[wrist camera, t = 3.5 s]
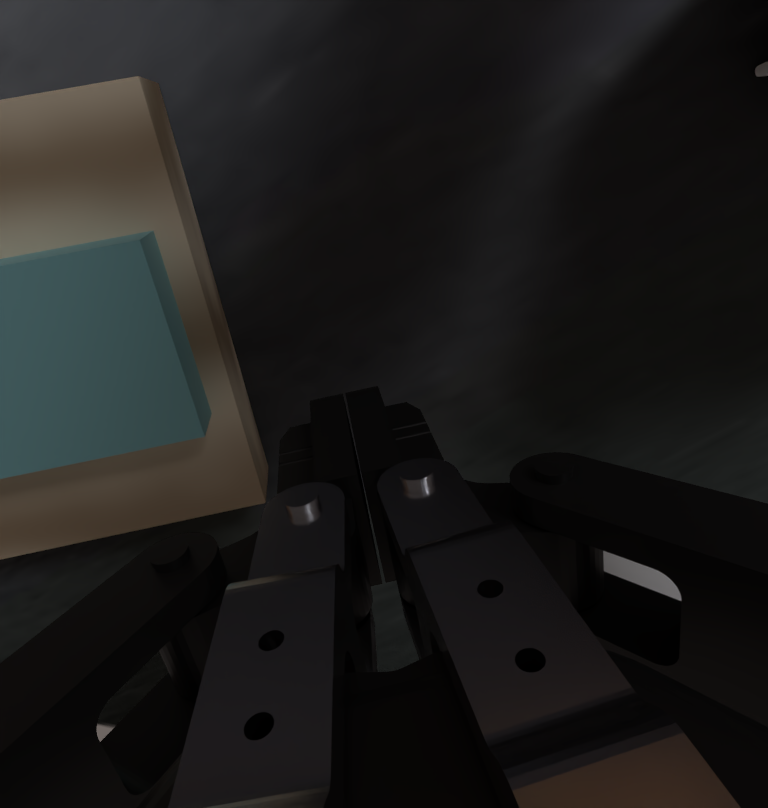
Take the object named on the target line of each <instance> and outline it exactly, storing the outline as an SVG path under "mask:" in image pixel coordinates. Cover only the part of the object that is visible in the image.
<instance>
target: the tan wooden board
mask: <svg viewBox="0 0 768 808" xmlns="http://www.w3.org/2000/svg"><path fill="white" fill-rule="evenodd" d="M148 231H154V234H155V237H156V240H157V243H158V246H159V250H160V253H161V256H162V259H163V262H164V265H165V268H166V271H167V275H168V278H169V281H170V284H171V287H172V290H173V293H174V297H175V300H176V303H177V306H178V309H179V312H180V315H181V318H182V322H183V325H184V328H185V331H186V334H187V337H188V340H189V343H190V347H191V350H192V353H193V356H194V359H195V362H196V365H197V369H198V372H199V375H200V378H201V381H202V384H203V387H204V390H205V394H206V397H207V400H208V403H209V406H210V409H211V412H212V414H211V418H210V421H209V424H208V428H207V431H206V435H205V437H201V438H196V439H191V440H187V441H182V442H177V443H172V444H167V445H162V446H158V447H153V448H148V449H143V450H138V451H133V452H128V453H124V454H119V455H114V456H109V457H104V458H99V459H95V460H90V461H85V462H80V463H75V464H70V465H66V466H61V467H56V468H51V469H46V470H41V471H36V472H32V473H27V474H22V475H17V476H12V477H7V478H3V479H0V560H1V559H5V558H10V557H15V556H19V555H24V554H29V553H33V552H38V551H43V550H47V549H52V548H57V547H61V546H66V545H71V544H75V543H80V542H85V541H90V540H94V539H99V538H104V537H108V536H113V535H118V534H122V533H127V532H132V531H136V530H141V529H146V528H150V527H155V526H160V525H164V524H169V523H174V522H178V521H183V520H188V519H192V518H197V517H202V516H206V515H211V514H216V513H221V512H225V511H230V510H235V509H239V508H244V507H249V506H253V505H258V504H263V503H266V491H267V478H268V464H267V461H266V457H265V454H264V450H263V447H262V443H261V440H260V436H259V433H258V429H257V426H256V422H255V419H254V415H253V412H252V408H251V405H250V401H249V398H248V394H247V391H246V387H245V384H244V380H243V377H242V373H241V370H240V366H239V363H238V359H237V356H236V352H235V349H234V345H233V342H232V338H231V335H230V332H229V328H228V325H227V321H226V318H225V314H224V311H223V307H222V304H221V300H220V297H219V293H218V290H217V286H216V283H215V279H214V276H213V272H212V269H211V265H210V262H209V258H208V255H207V251H206V248H205V244H204V241H203V237H202V234H201V230H200V227H199V223H198V220H197V216H196V213H195V209H194V206H193V202H192V199H191V195H190V192H189V188H188V185H187V181H186V178H185V174H184V171H183V167H182V164H181V160H180V157H179V154H178V150H177V147H176V143H175V140H174V136H173V133H172V129H171V126H170V122H169V119H168V115H167V112H166V108H165V105H164V101H163V98H162V94H161V91H160V87H159V84H158V83H156V82H153V81H151V80H148V79H145V78H142V77H140V76H136V77H131V78H125V79H119V80H113V81H107V82H102V83H96V84H90V85H84V86H78V87H73V88H67V89H61V90H55V91H49V92H44V93H38V94H32V95H26V96H20V97H15V98H9V99H3V100H0V259H3V258H8V257H14V256H19V255H25V254H30V253H35V252H41V251H46V250H51V249H57V248H62V247H67V246H73V245H78V244H83V243H89V242H94V241H100V240H105V239H110V238H116V237H121V236H126V235H132V234H137V233H142V232H148Z"/></svg>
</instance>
